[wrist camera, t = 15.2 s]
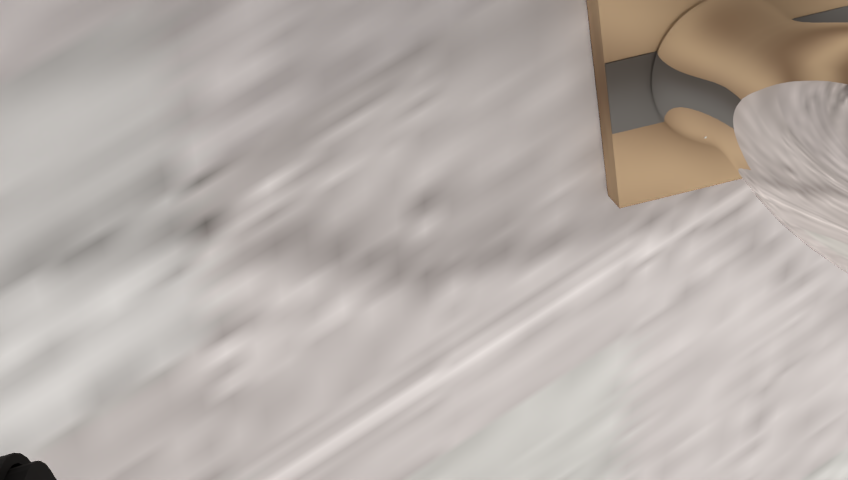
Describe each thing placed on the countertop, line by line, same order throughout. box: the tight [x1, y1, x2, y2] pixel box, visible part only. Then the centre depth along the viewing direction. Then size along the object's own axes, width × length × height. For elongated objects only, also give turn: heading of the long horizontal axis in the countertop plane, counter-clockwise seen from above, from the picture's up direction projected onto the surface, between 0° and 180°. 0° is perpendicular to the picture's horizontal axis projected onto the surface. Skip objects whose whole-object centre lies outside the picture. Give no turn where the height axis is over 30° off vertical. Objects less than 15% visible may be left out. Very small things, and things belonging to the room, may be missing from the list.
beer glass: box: [651, 0, 848, 273], centre depth 26 cm, size 7×7×15 cm
